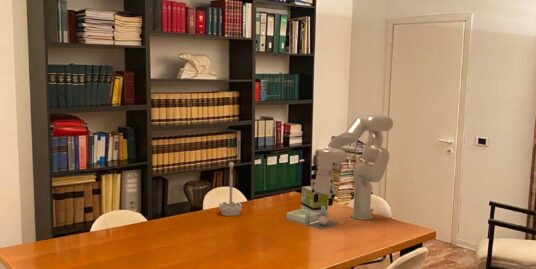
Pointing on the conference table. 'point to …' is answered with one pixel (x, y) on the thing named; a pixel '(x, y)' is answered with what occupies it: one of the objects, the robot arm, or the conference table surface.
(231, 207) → the flag stand
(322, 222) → the ball
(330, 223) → the mat
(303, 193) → the tea box
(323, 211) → the post far
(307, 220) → the post near
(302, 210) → the tray
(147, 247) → the conference table surface
